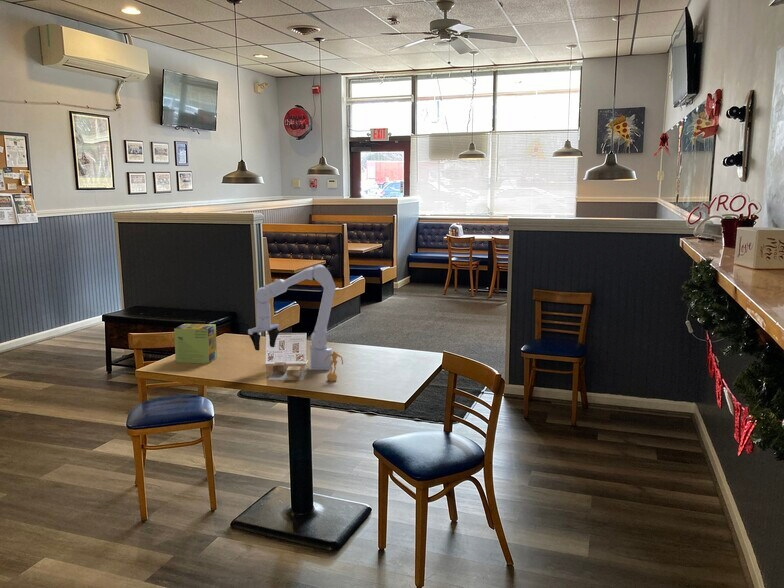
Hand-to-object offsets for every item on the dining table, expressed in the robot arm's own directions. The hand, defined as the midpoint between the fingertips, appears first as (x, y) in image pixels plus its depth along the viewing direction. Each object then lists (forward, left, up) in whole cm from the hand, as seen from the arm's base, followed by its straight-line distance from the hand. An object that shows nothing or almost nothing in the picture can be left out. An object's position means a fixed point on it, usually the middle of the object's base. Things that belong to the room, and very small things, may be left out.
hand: (264, 348), depth 256 cm
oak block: (-14, +12, -9) cm, 20 cm away
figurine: (-30, +14, -10) cm, 34 cm away
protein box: (+34, -15, -10) cm, 39 cm away
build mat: (-11, +9, -10) cm, 17 cm away
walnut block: (-7, +6, -9) cm, 13 cm away
